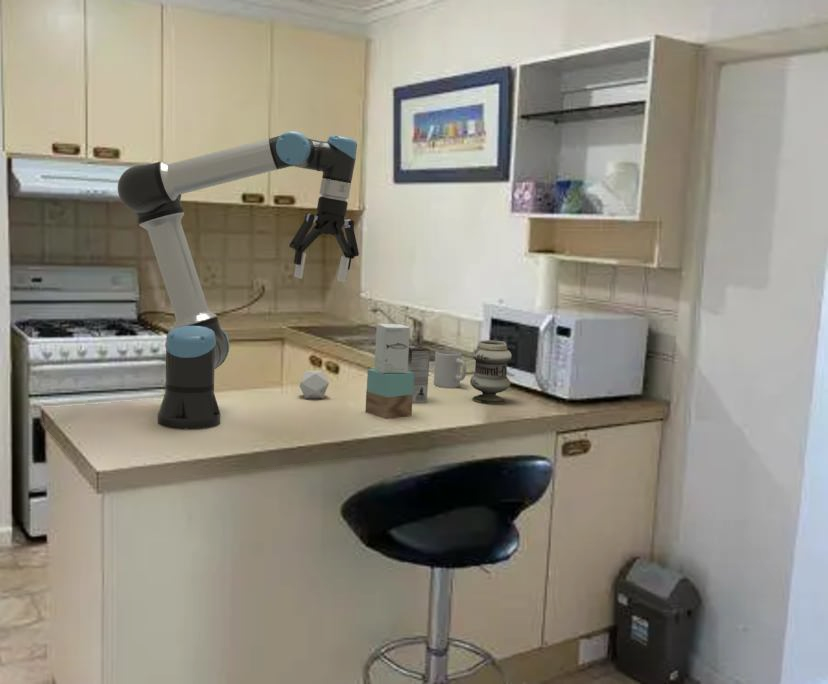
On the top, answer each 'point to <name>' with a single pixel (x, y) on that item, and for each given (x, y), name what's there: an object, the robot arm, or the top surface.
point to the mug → (448, 369)
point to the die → (314, 384)
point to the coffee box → (419, 371)
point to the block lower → (388, 405)
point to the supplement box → (392, 348)
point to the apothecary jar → (490, 371)
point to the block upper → (390, 383)
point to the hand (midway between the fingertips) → (319, 279)
